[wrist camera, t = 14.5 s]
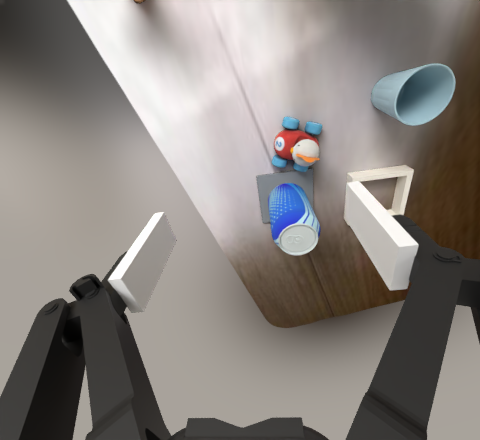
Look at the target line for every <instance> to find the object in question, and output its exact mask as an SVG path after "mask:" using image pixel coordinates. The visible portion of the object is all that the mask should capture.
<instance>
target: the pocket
mask: <svg viewBox="0 0 480 440" xmlns="http://www.w3.org/2000/svg"><path fill="white" fill-rule="evenodd" d="M413 172H414V170H413V169H412V168H410V167H408V166H406V165H401V166H394V167H386V168H379V169H372V170H365V171H357V172H350V173H347V183H349V182H355V181H359V182H361V181H369V180H376V179H384V178H391V177H398V179H397V184H396V189H395V194H394V199H393V204H392V209H390V210H387V212H388V213H389V214H390V215H391V216H392V215H399V214H401V215H403V214H404V210H405V206H406V202H407V198H408V193H409V189H410V185H411V181H412V176H413ZM345 206H346V197H345ZM344 220H345V221H346V223H347V224H348V225H349V223H348V222H347V220H346V218H345V209H344Z"/></svg>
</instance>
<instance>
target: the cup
mask: <svg viewBox="0 0 480 440" xmlns="http://www.w3.org/2000/svg"><path fill="white" fill-rule="evenodd" d="M454 90H455V76H454V74H453V72H452V70H451V69H450V68H449V67H448V66H446V65H443V64H439V63H433V64H428V65H424V66H420V67H417V68H413V69H409V70H405V71H401V72H397V73H393V74H390V75H387V76H385V77H383V78H381V79H380V80H379V81H378V82H377V83H376V84H375V86H374V88H373V90H372V93H371V101H372V104H373V105H374V107H376V108H377V109H379V110H381V111H383V112H384V113H386V114H388V115H390V116H391V117H393V118H395V119H396V120H398V121H400V122H402V123H403V124H406V125H410V126H417V125H421V124H425V123H427V122H429V121H431V120H432V119H434V118H435V117H437V116H438V115H439V114H440V113H441V112H442V111H443V110H444V109H445V108H446V106H447V105H448V104H449V102H450V100H451V98H452V96H453V93H454Z"/></svg>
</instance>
